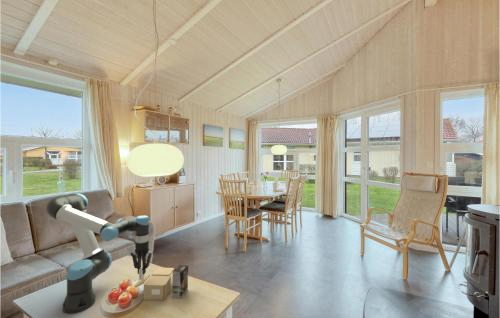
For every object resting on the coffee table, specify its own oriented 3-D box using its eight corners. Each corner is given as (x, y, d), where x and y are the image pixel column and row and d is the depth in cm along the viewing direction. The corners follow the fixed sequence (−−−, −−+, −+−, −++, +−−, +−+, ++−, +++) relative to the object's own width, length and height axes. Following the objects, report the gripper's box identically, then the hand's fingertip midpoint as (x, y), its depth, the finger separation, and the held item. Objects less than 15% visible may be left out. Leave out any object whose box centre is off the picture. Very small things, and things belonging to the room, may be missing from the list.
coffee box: (181, 299, 137) (181, 272, 137) (171, 297, 139) (172, 271, 139) (188, 290, 146) (188, 265, 146) (179, 289, 148) (179, 264, 148)
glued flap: (143, 283, 136) (129, 290, 136) (150, 275, 146) (137, 281, 146) (142, 282, 136) (128, 289, 136) (149, 274, 146) (136, 280, 146)
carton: (143, 300, 135) (143, 284, 135) (156, 281, 156) (157, 267, 156) (164, 300, 135) (164, 284, 135) (175, 281, 156) (175, 268, 156)
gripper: (127, 243, 137) (127, 282, 137) (150, 243, 137) (149, 282, 138) (134, 238, 145) (133, 275, 145) (155, 239, 145) (155, 275, 145)
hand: (141, 278), depth 141 cm, fingers closed
